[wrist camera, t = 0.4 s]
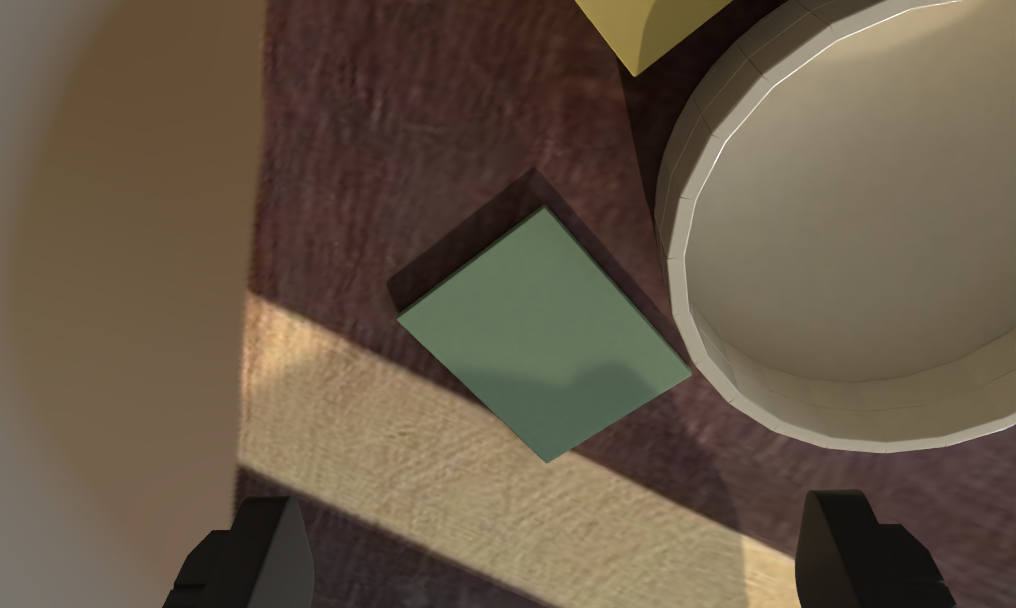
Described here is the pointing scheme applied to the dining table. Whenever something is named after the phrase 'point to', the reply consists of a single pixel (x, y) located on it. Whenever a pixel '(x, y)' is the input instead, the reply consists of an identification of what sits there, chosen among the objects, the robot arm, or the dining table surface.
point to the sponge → (647, 25)
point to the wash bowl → (852, 222)
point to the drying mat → (544, 337)
